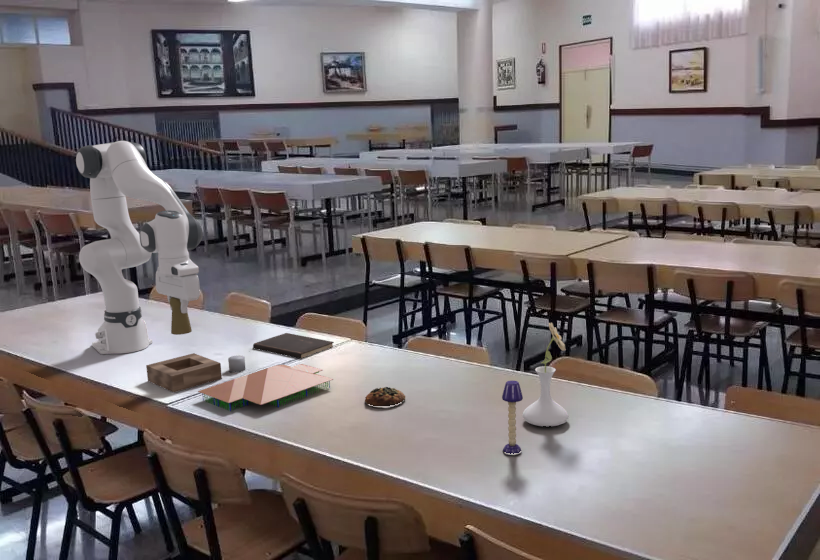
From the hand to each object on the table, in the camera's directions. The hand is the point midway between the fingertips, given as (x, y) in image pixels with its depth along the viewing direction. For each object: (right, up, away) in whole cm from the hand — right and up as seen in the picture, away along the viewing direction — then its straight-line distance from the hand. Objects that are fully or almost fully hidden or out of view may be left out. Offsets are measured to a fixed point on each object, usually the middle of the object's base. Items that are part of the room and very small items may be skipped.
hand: (179, 311), depth 234 cm
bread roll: (+62, -24, -20) cm, 70 cm away
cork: (0, -6, +1) cm, 7 cm away
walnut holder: (+1, -21, +4) cm, 21 cm away
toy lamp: (+93, -30, -55) cm, 112 cm away
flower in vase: (+103, -26, -38) cm, 113 cm away
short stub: (+15, -19, +12) cm, 27 cm away
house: (+29, -24, -10) cm, 39 cm away
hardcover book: (+29, -15, +34) cm, 47 cm away
